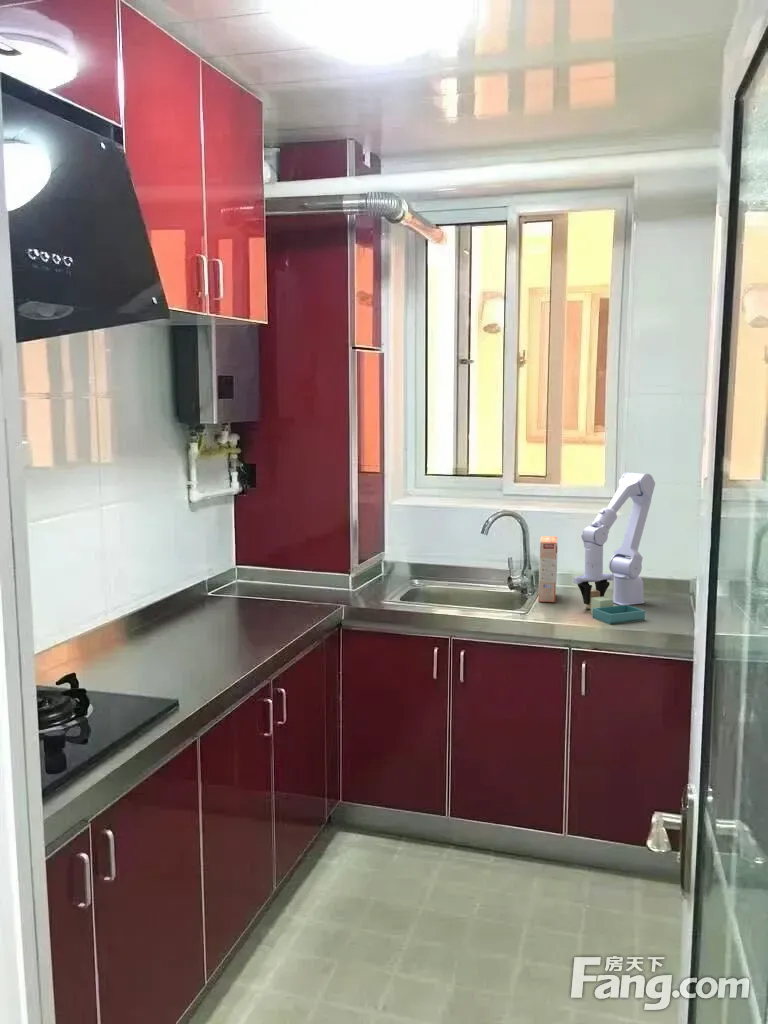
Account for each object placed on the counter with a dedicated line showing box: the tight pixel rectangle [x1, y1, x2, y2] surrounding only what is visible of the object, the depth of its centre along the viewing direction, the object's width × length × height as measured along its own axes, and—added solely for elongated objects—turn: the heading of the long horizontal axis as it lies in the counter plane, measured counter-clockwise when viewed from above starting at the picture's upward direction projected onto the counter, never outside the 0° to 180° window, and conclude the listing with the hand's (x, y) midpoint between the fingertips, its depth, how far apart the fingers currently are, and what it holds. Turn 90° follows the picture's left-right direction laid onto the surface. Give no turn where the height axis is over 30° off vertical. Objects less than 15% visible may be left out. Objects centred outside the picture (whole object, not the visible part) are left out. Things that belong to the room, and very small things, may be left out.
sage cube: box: [590, 595, 614, 614], centre depth 281 cm, size 5×5×5 cm
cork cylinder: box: [585, 589, 600, 610], centre depth 288 cm, size 4×4×6 cm
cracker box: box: [538, 535, 558, 603], centre depth 302 cm, size 14×6×21 cm, turn 168°
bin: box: [592, 604, 646, 625], centre depth 274 cm, size 13×9×3 cm
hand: (592, 603), depth 288 cm, fingers closed on cork cylinder, 4 cm apart
